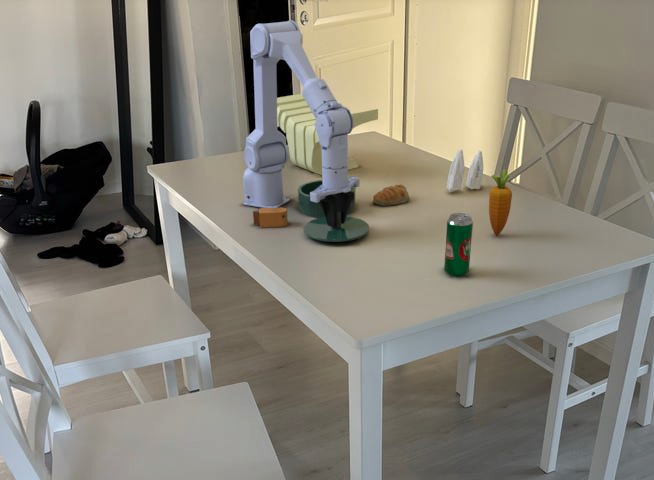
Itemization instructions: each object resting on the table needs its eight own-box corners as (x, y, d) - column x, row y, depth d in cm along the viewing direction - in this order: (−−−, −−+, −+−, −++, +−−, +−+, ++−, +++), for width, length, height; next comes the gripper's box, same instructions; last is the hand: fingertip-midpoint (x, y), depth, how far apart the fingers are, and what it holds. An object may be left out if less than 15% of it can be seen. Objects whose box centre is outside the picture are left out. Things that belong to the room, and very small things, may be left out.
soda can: (441, 267, 154) (445, 212, 148) (465, 266, 155) (470, 211, 148) (446, 278, 150) (450, 221, 144) (471, 277, 150) (475, 220, 144)
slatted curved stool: (272, 160, 222) (268, 99, 213) (314, 151, 231) (312, 91, 222) (332, 184, 202) (331, 117, 193) (377, 173, 211) (378, 108, 202)
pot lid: (352, 248, 162) (351, 226, 159) (291, 238, 168) (290, 216, 165) (379, 225, 174) (380, 204, 171) (322, 216, 179) (321, 196, 177)
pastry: (383, 209, 185) (383, 194, 183) (366, 202, 190) (366, 188, 188) (411, 201, 190) (411, 186, 188) (394, 195, 195) (394, 180, 193)
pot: (340, 221, 178) (339, 201, 176) (288, 212, 183) (287, 193, 181) (364, 203, 189) (364, 184, 187) (315, 195, 194) (314, 177, 192)
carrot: (494, 241, 166) (500, 175, 159) (481, 234, 170) (486, 169, 162) (512, 237, 168) (519, 172, 161) (498, 230, 172) (505, 166, 164)
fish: (253, 228, 175) (252, 213, 173) (254, 222, 178) (253, 208, 176) (287, 226, 175) (286, 212, 173) (287, 221, 178) (286, 207, 176)
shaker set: (450, 196, 193) (453, 154, 187) (440, 192, 196) (443, 150, 190) (485, 188, 198) (489, 147, 193) (475, 184, 201) (478, 143, 196)
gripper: (326, 176, 156) (327, 237, 163) (369, 161, 165) (369, 219, 172) (302, 170, 160) (304, 230, 167) (345, 156, 169) (346, 213, 176)
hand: (336, 224), depth 170 cm, fingers closed on pot lid, 2 cm apart
